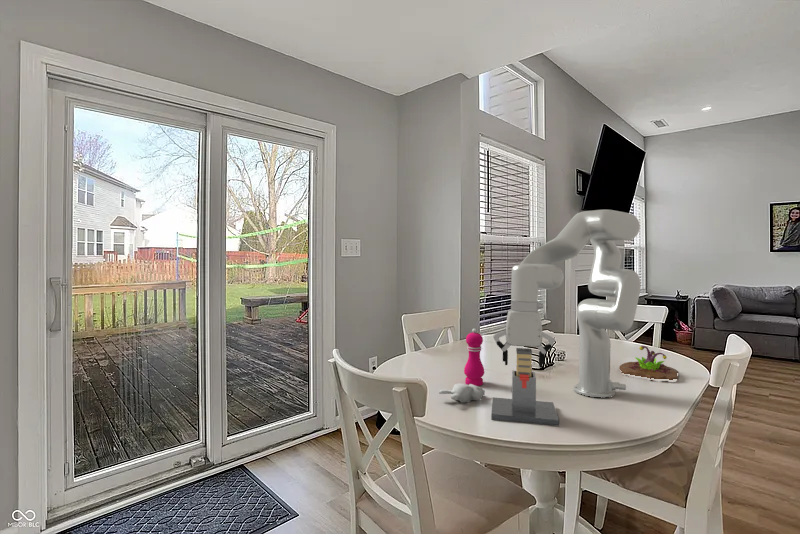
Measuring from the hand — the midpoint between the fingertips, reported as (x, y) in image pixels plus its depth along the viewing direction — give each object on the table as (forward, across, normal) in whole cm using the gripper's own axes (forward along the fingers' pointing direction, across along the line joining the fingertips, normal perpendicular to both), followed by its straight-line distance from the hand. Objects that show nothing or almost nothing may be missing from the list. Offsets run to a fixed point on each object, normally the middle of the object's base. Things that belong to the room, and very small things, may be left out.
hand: (523, 365), depth 123 cm
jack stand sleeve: (+14, 0, 0) cm, 14 cm away
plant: (+14, -49, -54) cm, 74 cm away
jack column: (+12, 0, 0) cm, 12 cm away
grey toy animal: (+15, +18, -7) cm, 24 cm away
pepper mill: (+14, +16, -25) cm, 33 cm away
